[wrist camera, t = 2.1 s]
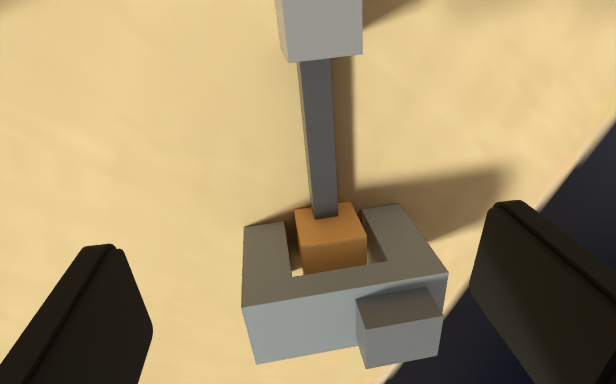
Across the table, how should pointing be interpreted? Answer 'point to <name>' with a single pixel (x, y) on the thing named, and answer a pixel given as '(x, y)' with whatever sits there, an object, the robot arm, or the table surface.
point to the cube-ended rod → (322, 127)
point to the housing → (346, 295)
